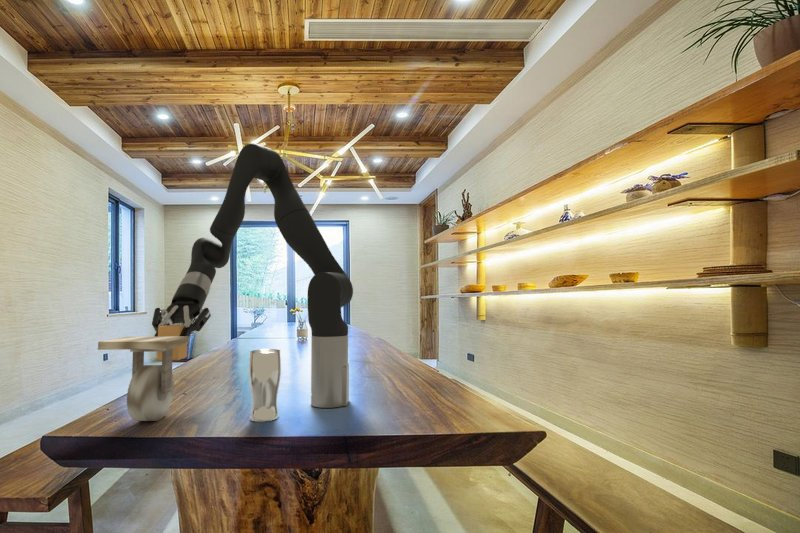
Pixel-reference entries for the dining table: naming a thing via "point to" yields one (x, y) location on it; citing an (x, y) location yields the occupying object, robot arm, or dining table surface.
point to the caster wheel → (148, 374)
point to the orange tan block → (173, 330)
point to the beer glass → (264, 383)
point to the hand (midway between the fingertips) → (169, 342)
